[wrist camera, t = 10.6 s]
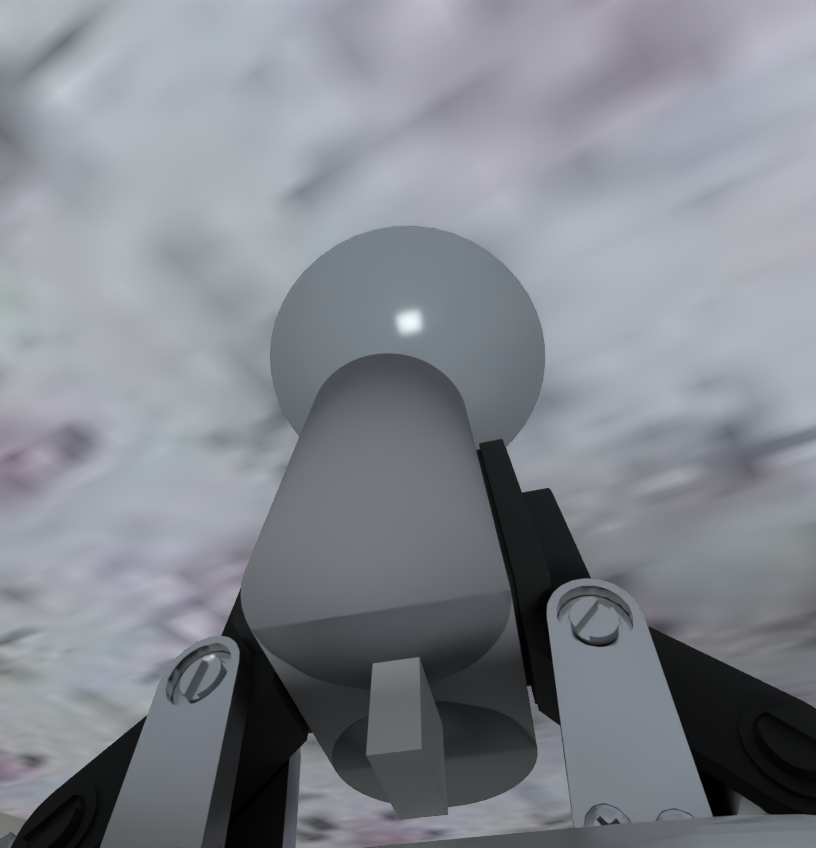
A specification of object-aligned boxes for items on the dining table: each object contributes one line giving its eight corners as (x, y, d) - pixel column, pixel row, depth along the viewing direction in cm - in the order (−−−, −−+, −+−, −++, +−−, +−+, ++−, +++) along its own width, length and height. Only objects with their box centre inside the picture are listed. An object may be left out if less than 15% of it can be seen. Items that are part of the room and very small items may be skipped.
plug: (288, 372, 10) (142, 621, 4) (452, 336, 9) (514, 560, 4) (377, 605, 13) (357, 900, 8) (499, 586, 13) (563, 882, 8)
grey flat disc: (230, 265, 17) (224, 268, 16) (526, 191, 16) (530, 192, 15) (322, 496, 22) (320, 504, 22) (551, 453, 21) (555, 460, 20)
